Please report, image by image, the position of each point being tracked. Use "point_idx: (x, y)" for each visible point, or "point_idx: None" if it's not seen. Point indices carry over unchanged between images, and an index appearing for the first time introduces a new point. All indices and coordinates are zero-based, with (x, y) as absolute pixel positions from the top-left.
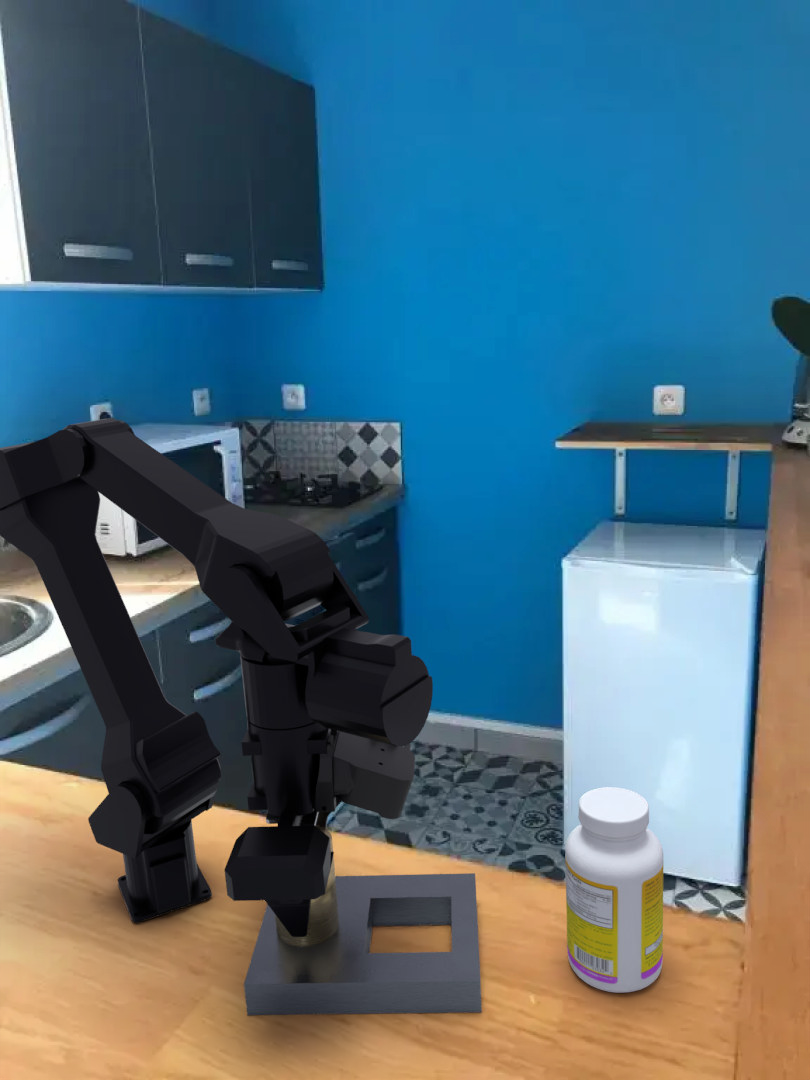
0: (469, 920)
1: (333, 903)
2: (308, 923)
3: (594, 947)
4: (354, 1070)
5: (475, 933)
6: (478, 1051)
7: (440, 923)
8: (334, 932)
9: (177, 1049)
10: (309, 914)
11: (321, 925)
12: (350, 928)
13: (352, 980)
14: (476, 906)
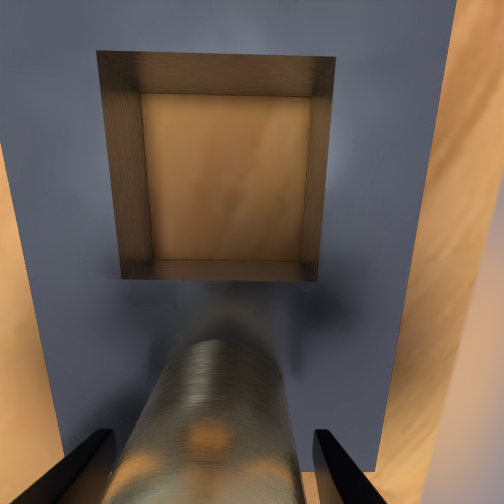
0: None
1: (240, 402)
2: (332, 455)
3: None
4: (478, 265)
5: None
6: (489, 51)
7: (140, 119)
8: (248, 346)
9: (393, 475)
10: (350, 489)
11: (280, 397)
12: (232, 314)
13: (399, 298)
14: None
